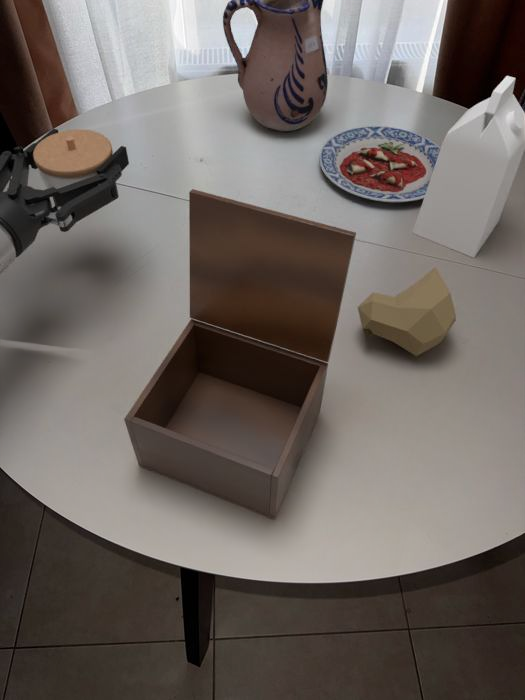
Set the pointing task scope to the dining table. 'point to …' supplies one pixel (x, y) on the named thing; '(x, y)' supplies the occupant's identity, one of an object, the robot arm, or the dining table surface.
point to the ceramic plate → (380, 163)
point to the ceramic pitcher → (282, 61)
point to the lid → (267, 273)
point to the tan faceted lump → (411, 314)
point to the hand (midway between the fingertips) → (91, 146)
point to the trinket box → (71, 156)
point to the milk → (474, 173)
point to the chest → (228, 416)
